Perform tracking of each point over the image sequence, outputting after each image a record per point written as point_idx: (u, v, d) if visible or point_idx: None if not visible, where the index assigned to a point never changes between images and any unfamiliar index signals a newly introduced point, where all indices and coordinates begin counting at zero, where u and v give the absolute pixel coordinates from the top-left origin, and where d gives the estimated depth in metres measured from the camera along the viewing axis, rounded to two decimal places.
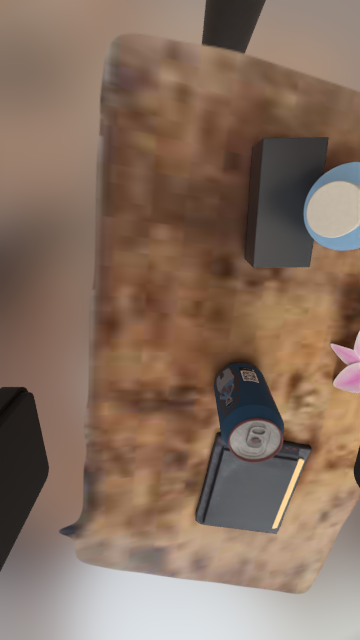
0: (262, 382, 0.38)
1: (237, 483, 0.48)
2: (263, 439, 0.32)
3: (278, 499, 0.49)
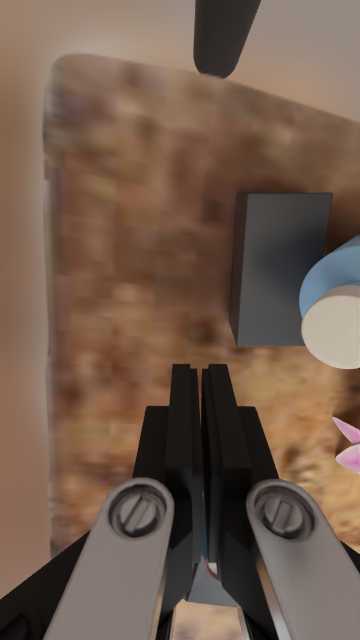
0: None
1: None
2: None
3: None
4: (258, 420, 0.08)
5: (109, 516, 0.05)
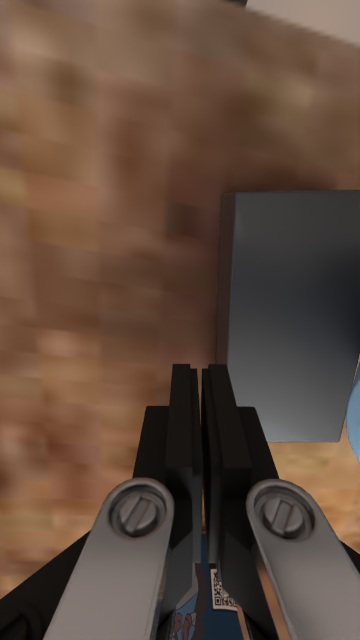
0: None
1: None
2: None
3: None
4: (258, 420, 0.08)
5: (109, 516, 0.05)
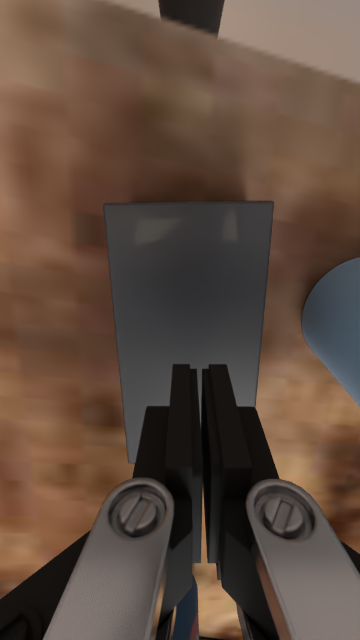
0: (179, 627, 0.20)
1: None
2: None
3: None
4: (258, 420, 0.08)
5: (109, 516, 0.05)
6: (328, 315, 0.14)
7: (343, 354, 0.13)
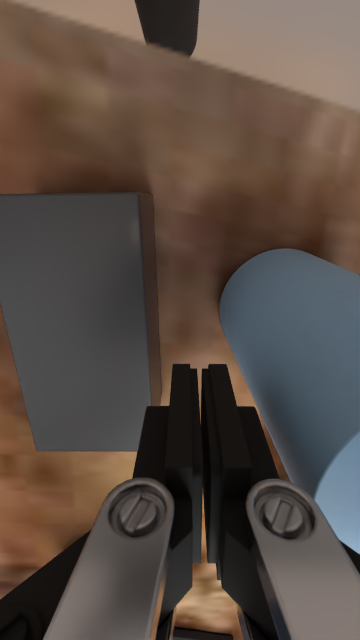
0: None
1: None
2: None
3: None
4: (258, 420, 0.08)
5: (109, 516, 0.05)
6: (233, 310, 0.14)
7: (240, 350, 0.13)
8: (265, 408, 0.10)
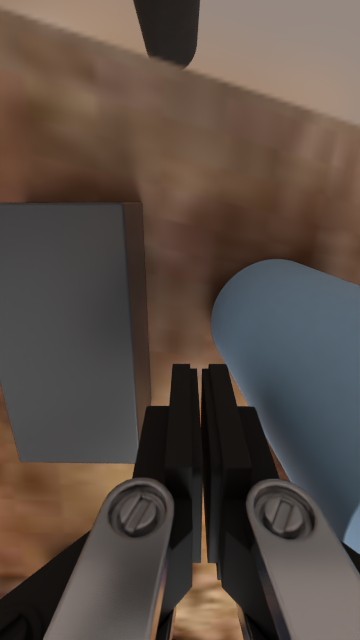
0: None
1: None
2: None
3: None
4: (258, 420, 0.08)
5: (109, 516, 0.05)
6: (228, 322, 0.14)
7: (238, 365, 0.12)
8: (273, 428, 0.09)
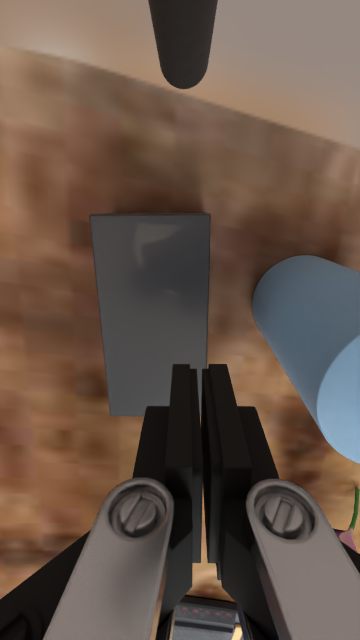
0: None
1: None
2: None
3: None
4: (258, 420, 0.08)
5: (109, 516, 0.05)
6: (264, 299, 0.19)
7: (269, 327, 0.17)
8: (288, 358, 0.14)
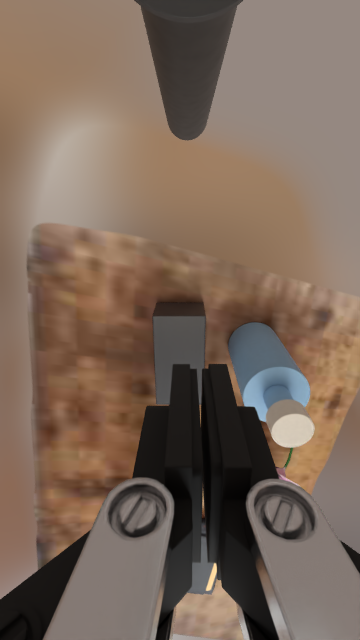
0: None
1: None
2: None
3: (207, 568, 0.55)
4: (258, 420, 0.08)
5: (109, 516, 0.05)
6: (232, 347, 0.38)
7: (233, 362, 0.36)
8: (237, 379, 0.33)
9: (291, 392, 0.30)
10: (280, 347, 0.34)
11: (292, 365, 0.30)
